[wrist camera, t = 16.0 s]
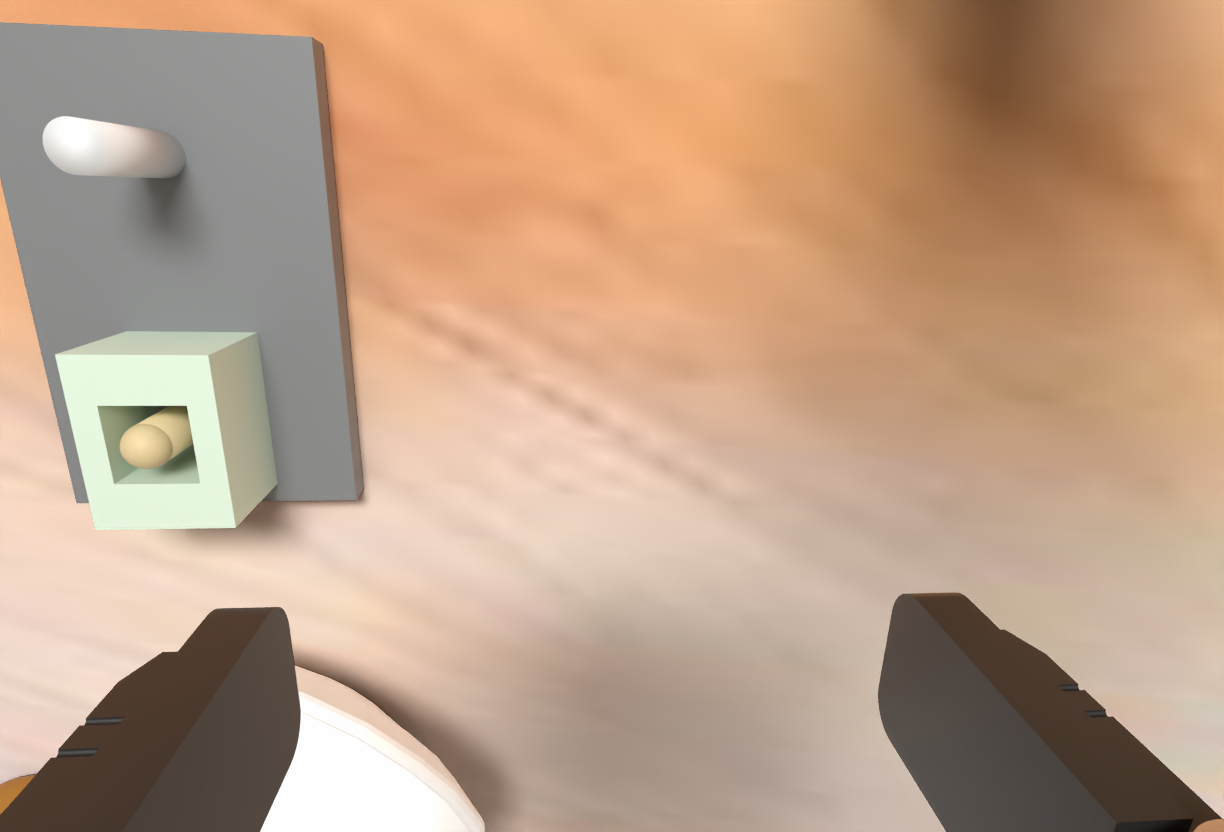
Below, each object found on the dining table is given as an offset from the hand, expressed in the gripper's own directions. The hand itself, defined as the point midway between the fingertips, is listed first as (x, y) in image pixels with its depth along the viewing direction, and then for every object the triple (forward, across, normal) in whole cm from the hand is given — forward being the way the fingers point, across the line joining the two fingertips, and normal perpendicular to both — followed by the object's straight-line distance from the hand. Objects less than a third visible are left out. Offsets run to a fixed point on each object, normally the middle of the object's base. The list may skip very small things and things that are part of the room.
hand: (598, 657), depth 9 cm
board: (+28, +18, -1) cm, 33 cm away
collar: (+27, +18, +5) cm, 32 cm away
